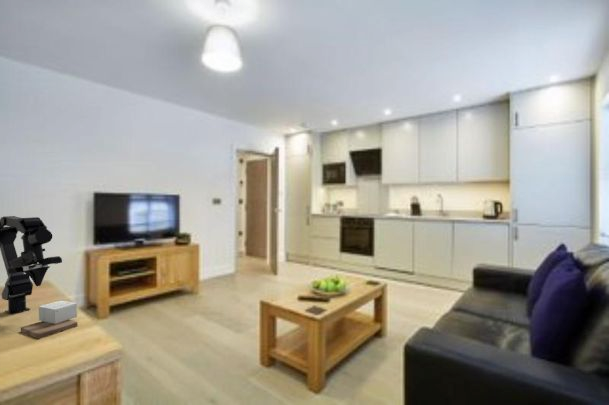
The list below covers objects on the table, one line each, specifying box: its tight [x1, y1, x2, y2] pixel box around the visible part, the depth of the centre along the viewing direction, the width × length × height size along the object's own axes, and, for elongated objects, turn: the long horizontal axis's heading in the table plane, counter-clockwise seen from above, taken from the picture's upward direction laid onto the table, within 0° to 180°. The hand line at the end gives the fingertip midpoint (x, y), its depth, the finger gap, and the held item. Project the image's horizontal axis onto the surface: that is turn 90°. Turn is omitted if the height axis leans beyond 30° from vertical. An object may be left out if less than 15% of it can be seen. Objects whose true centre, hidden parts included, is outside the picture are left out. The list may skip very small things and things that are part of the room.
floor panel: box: [20, 319, 78, 340], centre depth 119 cm, size 14×12×2 cm
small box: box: [38, 300, 78, 324], centre depth 125 cm, size 8×6×10 cm
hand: (38, 286), depth 130 cm, fingers closed
